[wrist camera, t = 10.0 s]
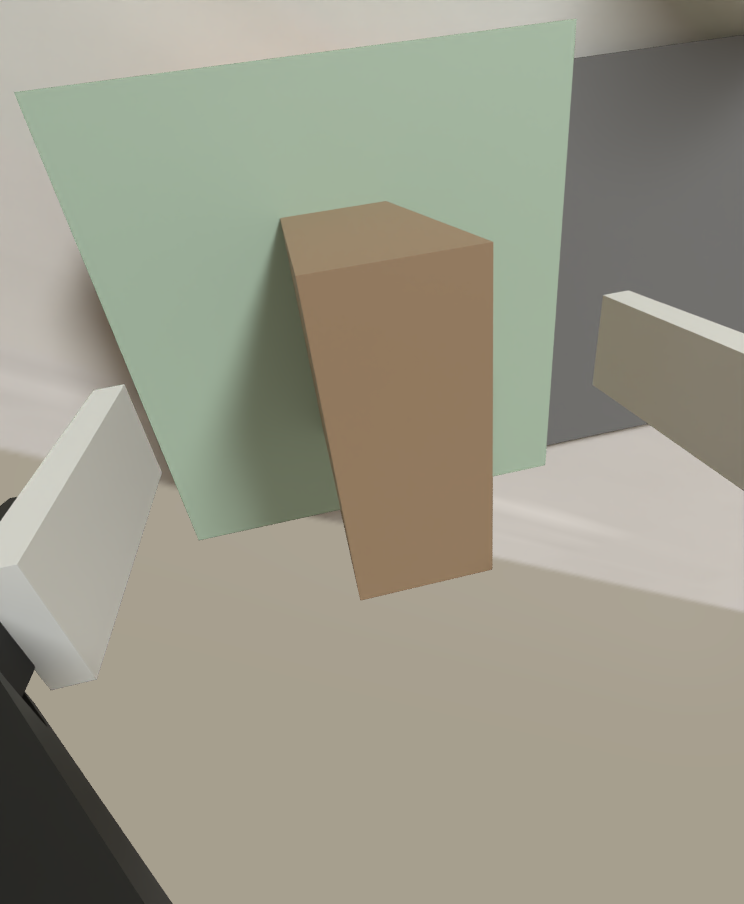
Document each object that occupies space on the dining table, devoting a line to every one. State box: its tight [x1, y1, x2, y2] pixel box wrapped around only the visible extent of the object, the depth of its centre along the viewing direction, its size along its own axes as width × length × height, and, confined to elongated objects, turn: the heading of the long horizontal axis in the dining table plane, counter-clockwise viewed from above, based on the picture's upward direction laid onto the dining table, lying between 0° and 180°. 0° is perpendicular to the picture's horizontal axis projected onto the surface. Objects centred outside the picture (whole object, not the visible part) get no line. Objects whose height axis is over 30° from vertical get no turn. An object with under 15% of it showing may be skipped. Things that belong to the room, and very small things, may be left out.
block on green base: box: [14, 19, 577, 600], centre depth 15 cm, size 16×16×10 cm
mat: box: [547, 35, 744, 445], centre depth 27 cm, size 19×19×1 cm
